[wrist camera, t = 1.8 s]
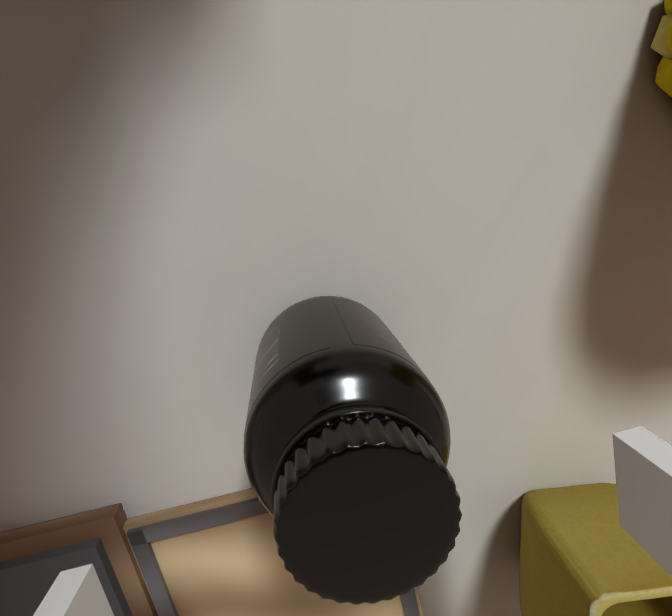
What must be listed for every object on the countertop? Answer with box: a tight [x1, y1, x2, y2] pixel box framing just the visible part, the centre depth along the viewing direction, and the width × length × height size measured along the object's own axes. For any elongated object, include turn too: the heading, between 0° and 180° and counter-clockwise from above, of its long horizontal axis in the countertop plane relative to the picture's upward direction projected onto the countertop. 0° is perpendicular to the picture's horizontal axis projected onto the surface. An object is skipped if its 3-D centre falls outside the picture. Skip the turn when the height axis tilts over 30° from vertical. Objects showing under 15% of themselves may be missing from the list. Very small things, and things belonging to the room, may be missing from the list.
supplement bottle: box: [244, 296, 462, 605], centre depth 17 cm, size 7×7×12 cm
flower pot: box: [519, 483, 672, 616], centre depth 22 cm, size 9×9×9 cm
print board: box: [123, 488, 423, 616], centre depth 26 cm, size 14×14×1 cm
